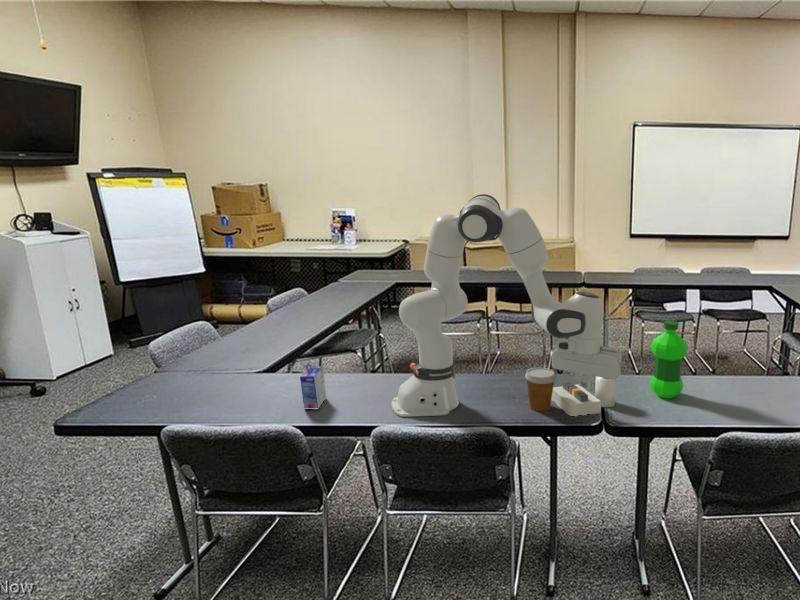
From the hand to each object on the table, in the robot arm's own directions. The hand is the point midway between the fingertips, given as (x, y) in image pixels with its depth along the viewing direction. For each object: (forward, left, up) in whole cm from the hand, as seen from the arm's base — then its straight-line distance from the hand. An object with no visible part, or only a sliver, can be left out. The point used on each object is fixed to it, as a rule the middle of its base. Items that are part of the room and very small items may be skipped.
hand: (584, 386), depth 161 cm
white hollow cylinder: (+9, +3, -8) cm, 12 cm away
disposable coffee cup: (-12, +6, -8) cm, 16 cm away
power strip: (-1, +8, -8) cm, 11 cm away
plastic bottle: (+31, +3, -8) cm, 32 cm away
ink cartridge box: (-84, +29, -8) cm, 89 cm away
